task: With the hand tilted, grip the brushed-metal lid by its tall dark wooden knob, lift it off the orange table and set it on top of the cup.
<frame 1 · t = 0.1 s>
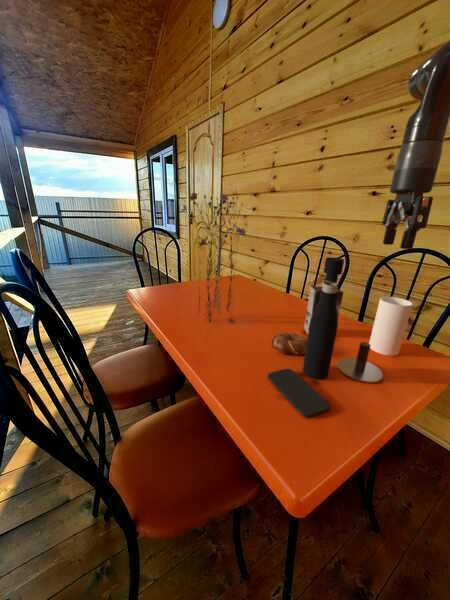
hand: (396, 246, 59), 33 cm above the table, tool pointing down, fingers open, 8 cm apart
wildflower: (215, 318, 99), on the table
dark water bottle: (315, 372, 67), on the table
lid: (359, 370, 68), on the table
cup: (383, 349, 80), on the table
coffee box: (318, 332, 90), on the table
phone: (296, 392, 59), on the table
pretzel: (290, 348, 79), on the table
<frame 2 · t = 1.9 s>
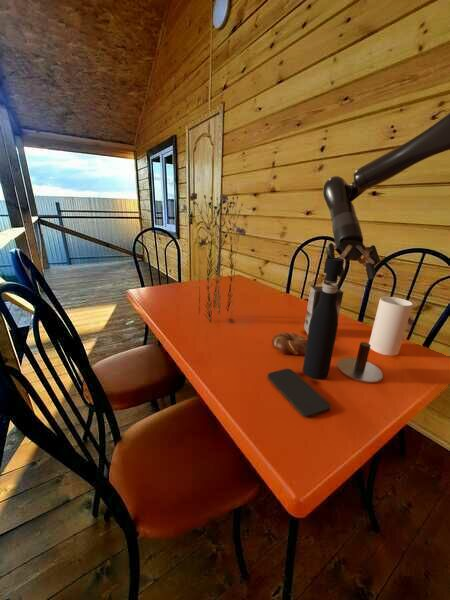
hand: (356, 277, 71), 23 cm above the table, tool tilted 45°, fingers open, 8 cm apart
nothing on the table moved.
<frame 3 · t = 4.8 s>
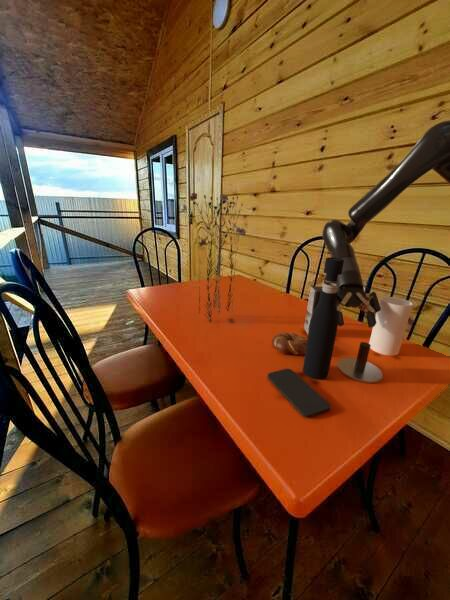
hand: (356, 326, 70), 10 cm above the table, tool tilted 45°, fingers open, 8 cm apart
nothing on the table moved.
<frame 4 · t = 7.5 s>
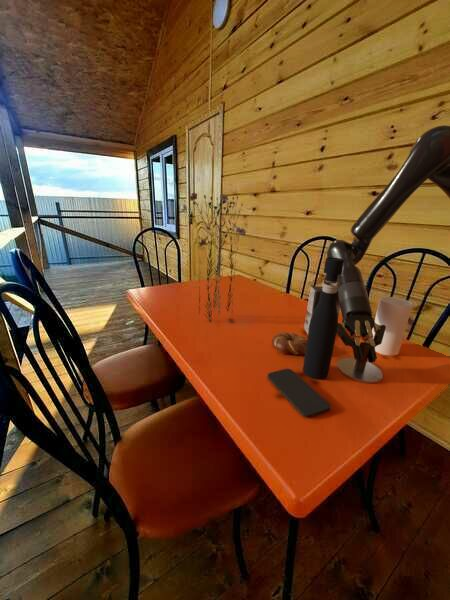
hand: (366, 361, 65), 4 cm above the table, tool tilted 45°, fingers closed on lid, 2 cm apart
lid: (359, 370, 68), on the table, touching gripper
everything else where it was.
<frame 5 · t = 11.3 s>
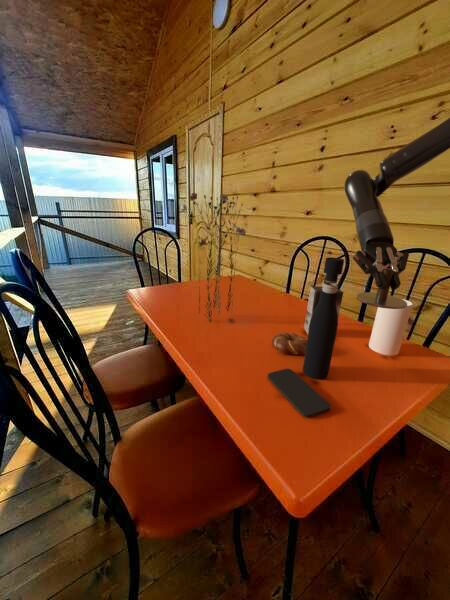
hand: (389, 287, 61), 23 cm above the table, tool tilted 45°, fingers closed on lid, 2 cm apart
lid: (380, 301, 64), point 19 cm above the table, touching gripper
everything else where it was.
when the fingers open (20 cm above the table, at t = 14.9 s): lid stays where it is, resting on cup.
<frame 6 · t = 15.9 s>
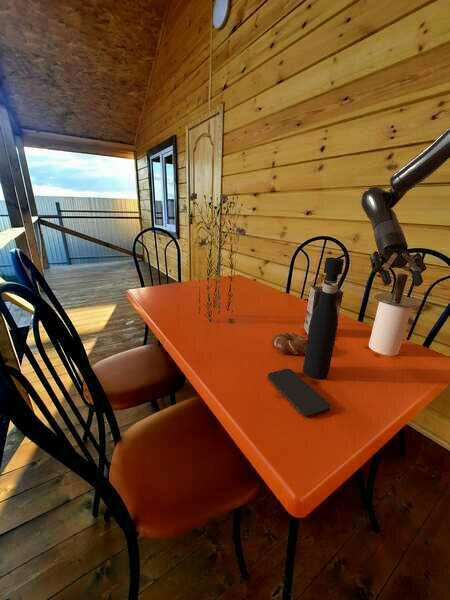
hand: (403, 284, 72), 21 cm above the table, tool tilted 45°, fingers open, 8 cm apart
lid: (395, 300, 75), point 16 cm above the table, touching cup
cup: (383, 349, 80), on the table, touching lid
everything else where it was.
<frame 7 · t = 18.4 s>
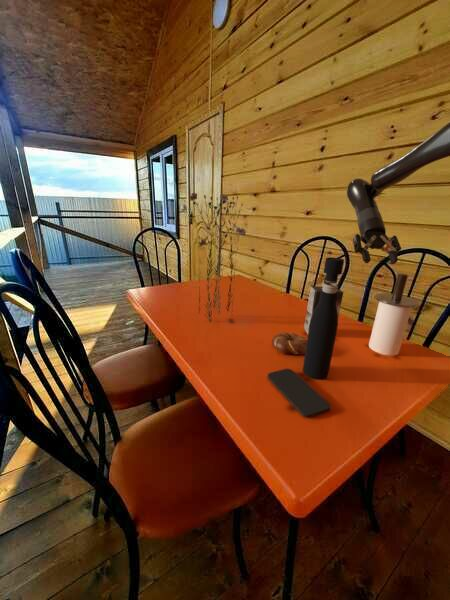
hand: (381, 262, 82), 25 cm above the table, tool tilted 45°, fingers open, 8 cm apart
nothing on the table moved.
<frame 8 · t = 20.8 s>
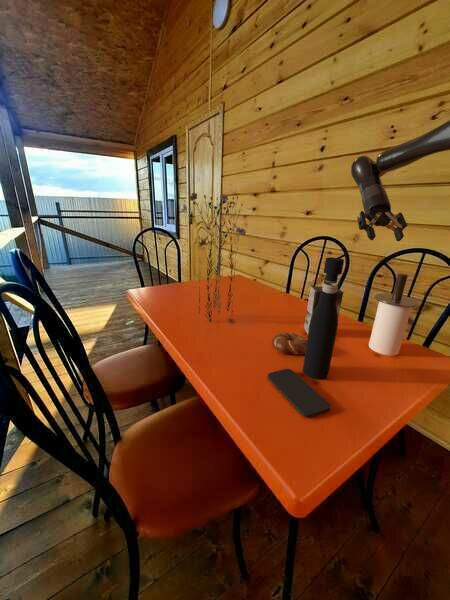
hand: (386, 239, 80), 33 cm above the table, tool tilted 45°, fingers open, 8 cm apart
nothing on the table moved.
at the end: lid 0.1 cm off-centre on the cup, point 16.2 cm above the cup's base; lid tilted 0°; lid touching cup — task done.
